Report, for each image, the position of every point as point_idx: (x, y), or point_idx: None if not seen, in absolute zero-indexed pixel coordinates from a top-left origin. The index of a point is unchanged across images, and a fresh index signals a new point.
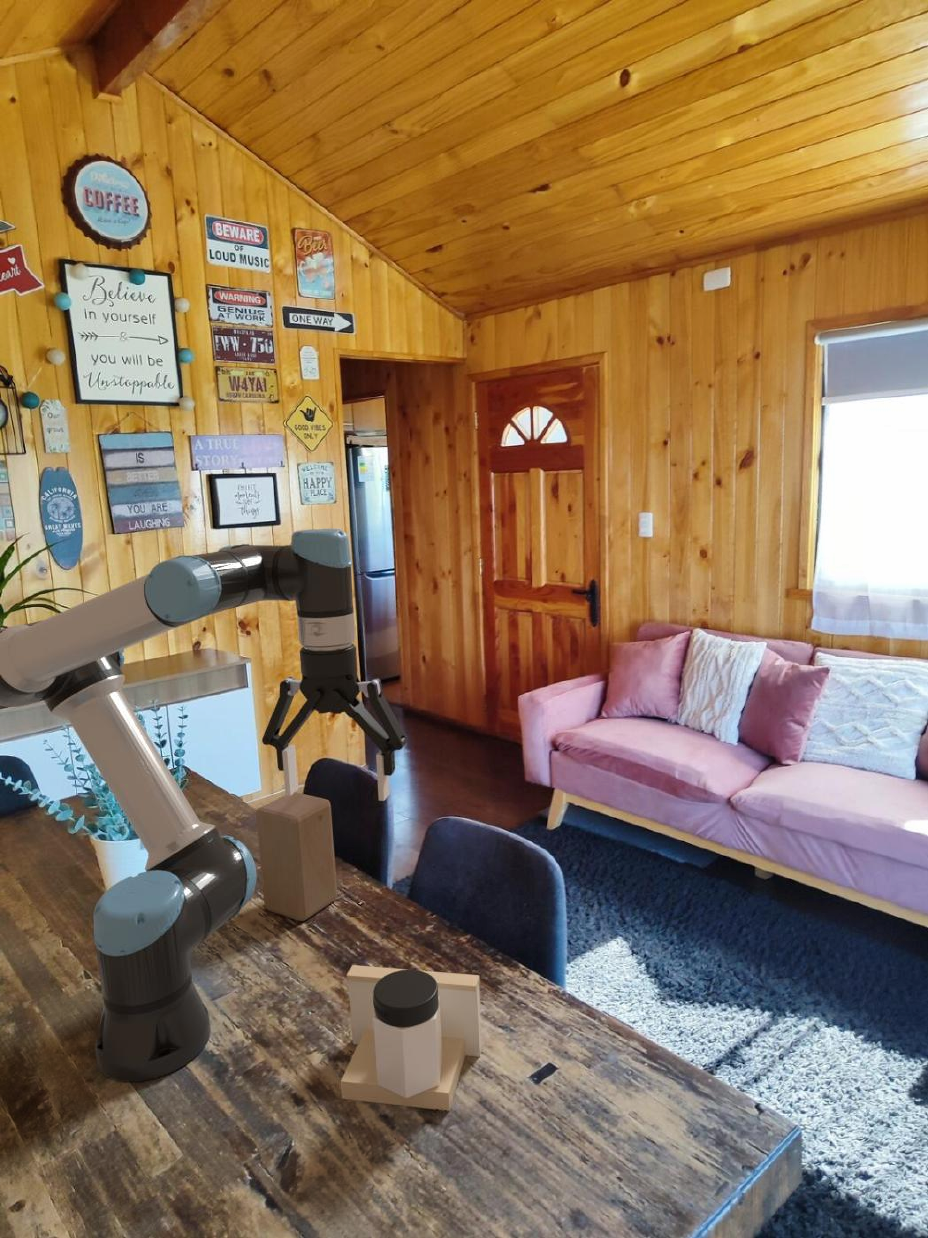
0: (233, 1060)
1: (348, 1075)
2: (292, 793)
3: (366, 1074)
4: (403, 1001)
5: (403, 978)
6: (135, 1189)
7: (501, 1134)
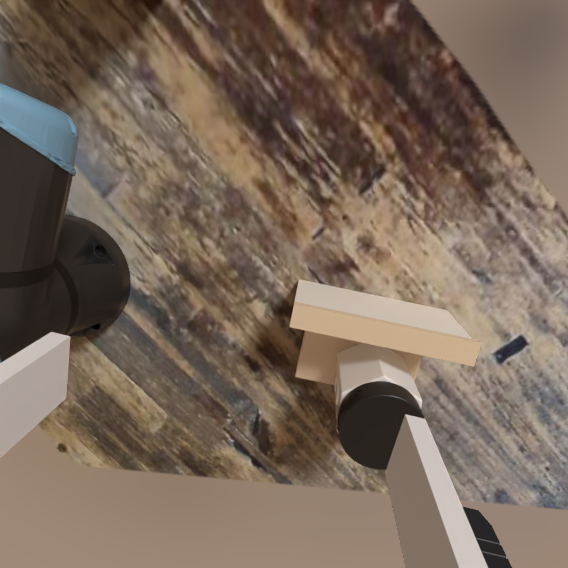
0: (169, 306)
1: (302, 370)
2: (65, 386)
3: (321, 370)
4: (380, 459)
5: (379, 415)
6: (144, 442)
7: (451, 419)
